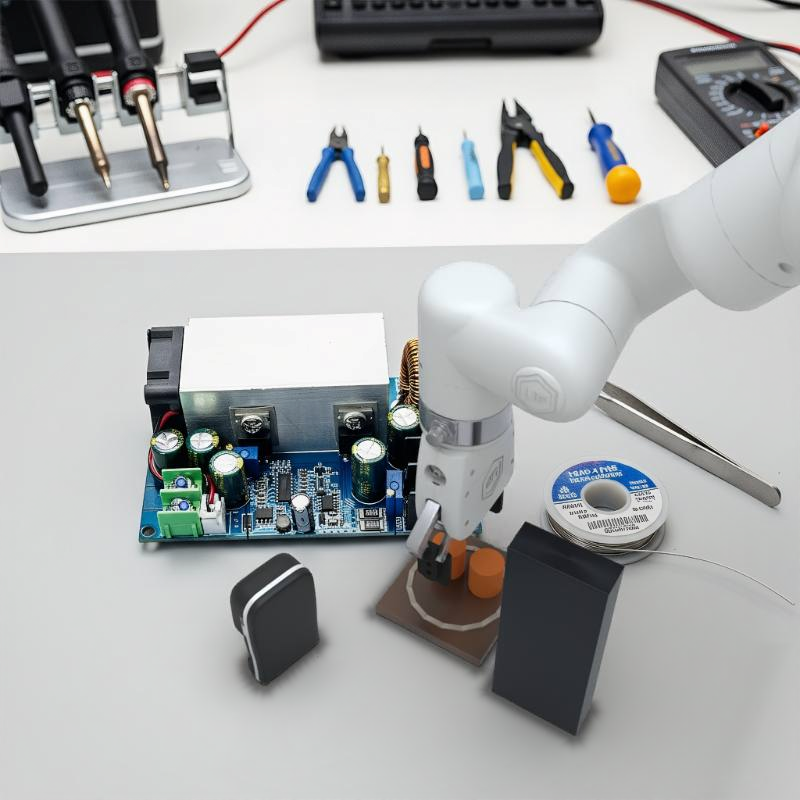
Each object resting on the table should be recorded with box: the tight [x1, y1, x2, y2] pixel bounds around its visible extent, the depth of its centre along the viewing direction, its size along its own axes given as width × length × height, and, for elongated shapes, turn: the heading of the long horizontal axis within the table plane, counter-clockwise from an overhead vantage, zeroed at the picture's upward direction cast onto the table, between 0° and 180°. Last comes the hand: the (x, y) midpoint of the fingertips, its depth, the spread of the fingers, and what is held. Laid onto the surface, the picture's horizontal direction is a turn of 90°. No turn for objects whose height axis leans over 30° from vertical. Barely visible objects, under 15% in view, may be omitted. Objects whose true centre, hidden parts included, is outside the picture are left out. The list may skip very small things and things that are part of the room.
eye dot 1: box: [432, 532, 466, 580], centre depth 93 cm, size 3×3×4 cm
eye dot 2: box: [468, 548, 505, 598], centre depth 92 cm, size 3×3×4 cm
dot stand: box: [491, 520, 626, 736], centre depth 79 cm, size 8×3×20 cm, turn 58°
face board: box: [375, 529, 507, 668], centre depth 93 cm, size 11×12×1 cm
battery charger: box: [229, 552, 320, 685], centre depth 85 cm, size 7×4×11 cm, turn 134°
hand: (461, 540), depth 92 cm, fingers open, 9 cm apart
